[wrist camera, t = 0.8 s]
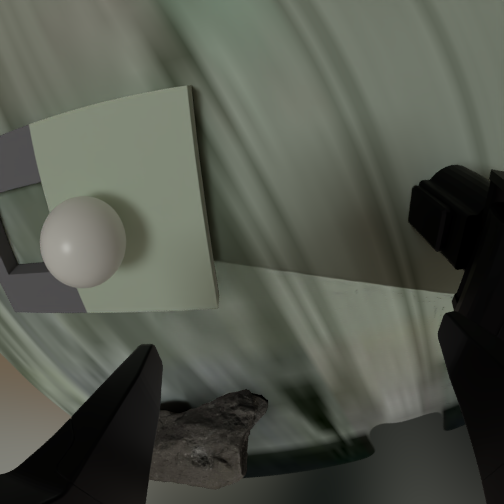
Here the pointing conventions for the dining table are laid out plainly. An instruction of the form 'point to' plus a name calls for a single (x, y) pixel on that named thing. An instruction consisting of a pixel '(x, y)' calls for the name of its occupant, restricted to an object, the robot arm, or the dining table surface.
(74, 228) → the ball
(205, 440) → the stone
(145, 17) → the dining table surface
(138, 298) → the panel
